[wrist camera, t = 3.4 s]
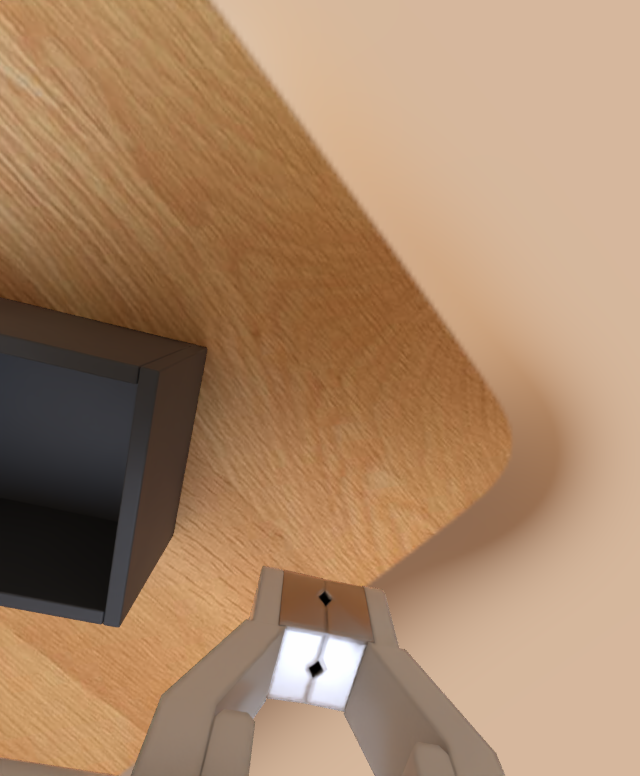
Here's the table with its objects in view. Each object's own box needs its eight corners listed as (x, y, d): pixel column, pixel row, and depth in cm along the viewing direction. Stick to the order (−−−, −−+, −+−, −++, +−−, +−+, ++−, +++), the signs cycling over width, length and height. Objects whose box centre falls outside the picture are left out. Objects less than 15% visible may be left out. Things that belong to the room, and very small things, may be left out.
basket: (207, 347, 14) (159, 371, 9) (173, 535, 16) (119, 629, 11) (-80, 277, 13) (-278, 268, 9) (-82, 483, 15) (-246, 561, 11)
